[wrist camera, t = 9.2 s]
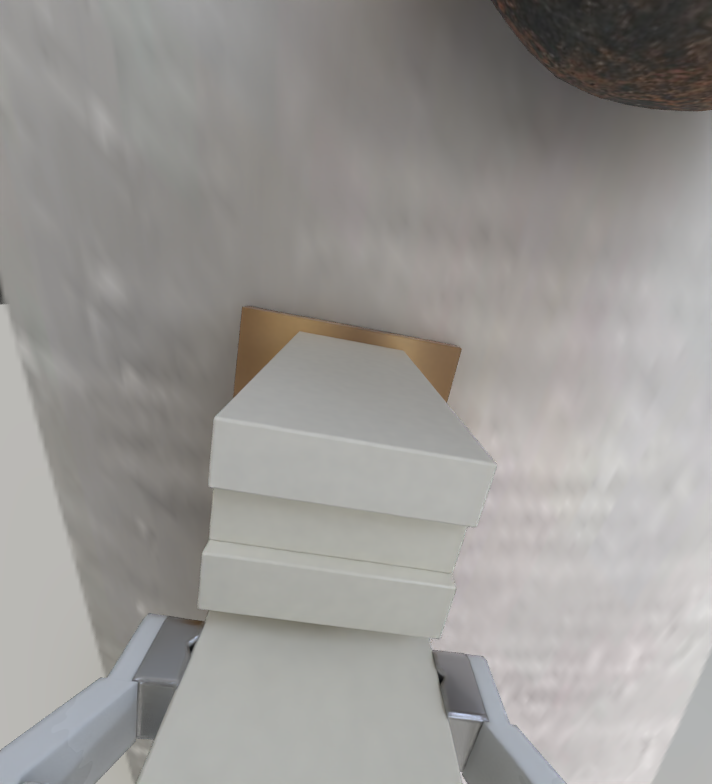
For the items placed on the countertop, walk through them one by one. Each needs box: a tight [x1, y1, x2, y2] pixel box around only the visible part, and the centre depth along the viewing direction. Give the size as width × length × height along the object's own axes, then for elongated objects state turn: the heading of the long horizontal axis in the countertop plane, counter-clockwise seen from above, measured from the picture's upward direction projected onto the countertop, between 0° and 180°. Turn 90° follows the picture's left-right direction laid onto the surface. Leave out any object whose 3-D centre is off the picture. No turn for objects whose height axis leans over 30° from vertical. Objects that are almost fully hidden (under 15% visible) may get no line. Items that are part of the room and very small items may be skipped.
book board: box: [233, 306, 461, 403], centre depth 23 cm, size 12×23×1 cm, turn 169°
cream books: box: [197, 331, 497, 639], centre depth 14 cm, size 6×5×13 cm
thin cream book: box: [136, 610, 463, 784], centre depth 9 cm, size 6×2×13 cm, turn 79°
